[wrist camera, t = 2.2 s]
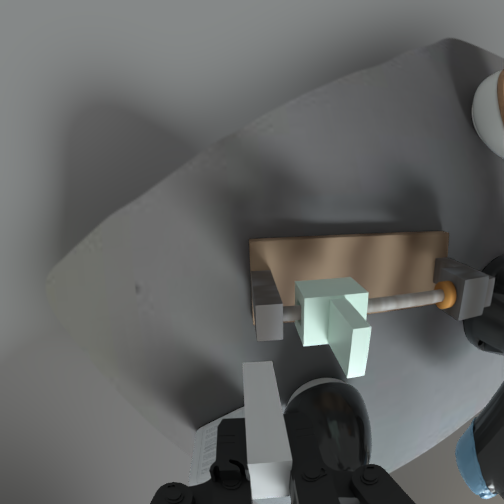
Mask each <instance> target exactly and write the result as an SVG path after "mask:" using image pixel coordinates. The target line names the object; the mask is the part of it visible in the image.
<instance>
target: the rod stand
mask: <svg viewBox="0 0 504 504" xmlns="http://www.w3.org/2000/svg"><path fill="white" fill-rule="evenodd" d="M448 243H449V233H447V232H444V231H426V232H397V233H371V234H346V235H323V236H301V237H280V238H260V239H249V252H250V272H251V293H252V313H253V325H255V328H256V337H257V341H271V340H283V323H288V322H295V320H301V305H295V281H305V280H319V279H332V278H345V277H351V278H353V279H354V280H355V281H356V282H357V283H358V284H359V285H361V286H362V287H363V288H364V289H365V290H366V291H367V292H369V294H368V305H367V314H373V313H381V312H388V311H395V310H402V309H408V308H415V307H421V306H427V305H433V304H436V306H437V307H438V308H440V309H442V310H443V311H445V312H446V313H447V314H449V315H450V316H452V317H453V318H455V319H456V320H457V321H460V320H464V319H468V318H472V317H476V316H480V315H482V313H483V308H484V307H488V306H490V304H491V299H492V294H493V289H494V283H495V278H494V277H492V276H490V275H488V274H485V273H483V272H481V271H479V270H476V269H474V268H472V267H469V266H467V265H465V264H462V263H460V262H458V261H455V260H453V259H450V258H448V257H447V255H448Z"/></svg>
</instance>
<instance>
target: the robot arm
mask: <svg viewBox="0 0 504 504" xmlns="http://www.w3.org/2000/svg"><path fill="white" fill-rule="evenodd" d="M482 272H483V273H485V274H488V275H490V276H492V277H494V278H495V283H494V289H493V294H492V299H491V304H490V306H488V307H484V308H483V313H482V315H480V316H476V317H472V318H468V319H464V328H465V334H466V337H467V339H468V340H469V341H470V342H471V343H472V344H473V345H474V346H476V347H477V348H478V349H480V350H482V351H486V352H490V353H495V354H499V355H504V256H500V257H498V258H496V259H494V260H493V261H492V262H490V263H489V264H488V265H487V266H486V268H485V269H484V270H483V271H482ZM243 385H244V406H245V418H227V419H222V420H221V422H220V424H219V425H218V427H217V446H216V461H215V462H214V463H213V464H212V465H211V467H210V470H209V472H210V475H211V478H210V479H209V480H208V481H206V482H205V483H202V484H198V485H194V486H189V487H188V486H186V485H184V484H182V483H176V482H172V483H167V484H165V485H163V486H161V487H160V488H159V489H158V490H157V492H156V494H155V496H154V497H153V499H152V501H151V503H150V504H253V502H252V499H263V498H275V497H284V496H289V495H290V497H291V504H415V503H414V501H413V500H411V498H410V497H409V496H408V495H407V494H406V493H405V492H404V491H403V490H402V489H401V487H400V486H399V485H398V484H397V483H396V482H395V481H394V480H393V478H392V477H391V476H390V475H389V474H388V473H387V472H386V471H385V470H384V469H383V468H382V467H380V466H378V465H375V464H366V465H363V466H360V467H359V468H357V469H356V470H355V471H338V470H334V469H331V468H330V467H328V466H327V465H326V464H325V463H324V461H323V459H322V456H321V453H320V449H319V446H318V443H317V440H316V436H315V433H314V430H313V426H312V423H311V420H310V418H309V417H308V416H307V415H306V414H305V413H304V412H297V413H289V414H283V412H282V407H281V402H280V397H279V392H278V387H277V382H276V377H275V372H274V368H273V363H272V361H264V362H249V363H243ZM455 455H456V462H457V466H458V469H459V471H460V473H461V475H462V477H463V479H464V481H465V482H466V484H467V485H468V487H469V488H470V489H471V490H472V491H473V492H474V493H475V494H476V495H479V496H480V497H481V498H484V499H489V498H491V497H494V496H496V495H497V494H499V495H500V496H501V497H502V498H503V499H504V382H503V383H502V384H501V386H500V387H499V389H498V390H497V392H496V393H495V394H494V396H493V397H492V399H491V400H490V401H489V403H488V404H487V405H486V407H485V408H484V409H483V411H482V412H481V413H480V414H479V416H478V417H476V418H474V419H473V421H472V423H471V425H470V426H469V428H468V429H467V430H466V431H465V433H464V434H463V435H462V436H461V438H460V439H459V441H458V443H457V446H456V453H455Z"/></svg>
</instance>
